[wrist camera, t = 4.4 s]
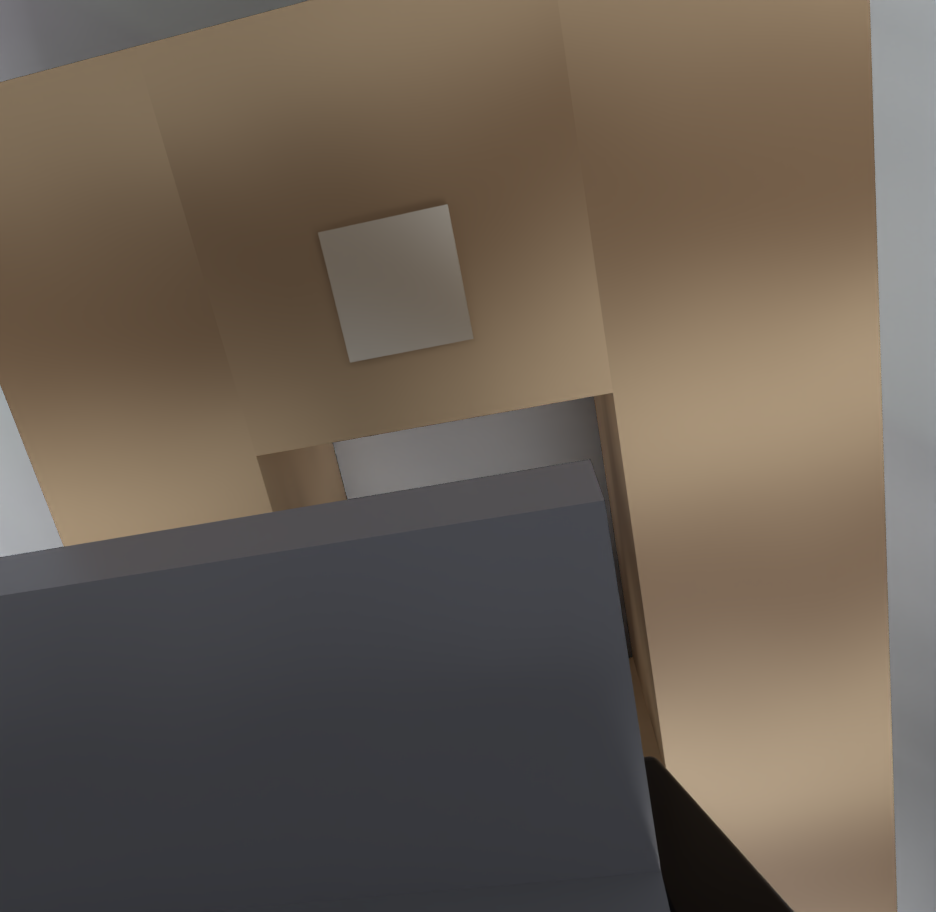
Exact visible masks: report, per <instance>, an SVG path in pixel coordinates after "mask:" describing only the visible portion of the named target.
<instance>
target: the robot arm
mask: <svg viewBox="0 0 936 912" xmlns="http://www.w3.org/2000/svg"><path fill="white" fill-rule="evenodd" d="M644 763H645V769H646V776H647V782H648V789H649V795H650V802H651V809H652V815H653V822H654V828H655V835H656V841H657V848H658V855H659V861H660V868H661V873H662V878H663V882H664V886H665V891H666V895H667V899H668V904H669V908H670V912H794V911H793V910H792V909H791V907H790V906H789V905H788V904H787V903H786V902H785V901H784V900H783V899H782V897H781V896H780V895H779V894H778V893H777V892H776V891H775V890H774V888H773V887H772V886H771V885H770V884H769V883H768V882H767V881H766V879H765V878H764V877H763V876H762V875H761V874H760V873H759V872H758V871H757V869H756V868H755V867H754V866H753V865H752V864H751V863H750V862H749V860H748V859H747V858H746V857H745V856H744V855H743V854H742V853H741V852H740V850H739V849H738V848H737V847H736V846H735V845H734V844H733V843H732V841H731V840H730V839H729V838H728V837H727V836H726V835H725V834H724V832H723V831H722V830H721V829H720V828H719V827H718V826H717V825H716V824H715V822H714V821H713V820H712V819H711V818H710V817H709V816H708V815H707V813H706V812H705V811H704V810H703V809H702V808H701V807H700V806H699V804H698V803H697V802H696V801H695V800H694V799H693V798H692V797H691V796H690V794H689V793H688V792H687V791H686V790H685V789H684V788H683V787H682V785H681V784H680V783H679V782H678V781H677V780H676V779H675V778H674V777H673V775H672V774H671V773H670V772H669V771H668V770H667V769H666V768H665V766H664V765H663V764H662V763H661V762H660V761H659V760H658V759H657V758H655V757H653V756H647V757H644Z"/></svg>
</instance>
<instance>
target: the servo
mask: <svg viewBox="0 0 936 912" xmlns="http://www.w3.org/2000/svg"><path fill="white" fill-rule="evenodd" d="M0 912H670V908H669V904H668V899H667V895H666V891H665V886H664V882H663V878H662V873H661V868H660V861H659V855H658V848H657V841H656V835H655V828H654V822H653V815H652V809H651V802H650V795H649V789H648V782H647V776H646V769H645V763H644V756H643V749H642V743H641V736H640V730H639V723H638V717H637V710H636V703H635V697H634V690H633V684H632V677H631V671H630V664H629V657H628V651H627V644H626V638H625V631H624V625H623V618H622V611H621V605H620V598H619V592H618V585H617V579H616V572H615V566H614V559H613V552H612V546H611V539H610V533H609V526H608V520H607V513H606V506H605V500H604V497H603V494H602V491H601V489H600V486H599V483H598V480H597V477H596V474H595V471H594V469H593V466H592V463H591V460H590V459H589V460H583V461H577V462H571V463H565V464H559V465H553V466H547V467H541V468H535V469H529V470H523V471H517V472H511V473H505V474H499V475H493V476H487V477H481V478H475V479H469V480H463V481H457V482H451V483H445V484H439V485H433V486H427V487H421V488H414V489H408V490H402V491H396V492H390V493H384V494H378V495H372V496H366V497H360V498H354V499H348V500H342V501H336V502H330V503H324V504H318V505H312V506H306V507H300V508H294V509H288V510H282V511H276V512H270V513H264V514H258V515H252V516H246V517H240V518H234V519H228V520H222V521H216V522H210V523H204V524H198V525H192V526H186V527H180V528H174V529H167V530H161V531H155V532H149V533H143V534H137V535H131V536H125V537H119V538H113V539H107V540H101V541H95V542H89V543H83V544H77V545H71V546H65V547H59V548H53V549H47V550H41V551H35V552H29V553H23V554H17V555H11V556H5V557H0Z"/></svg>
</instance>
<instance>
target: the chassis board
mask: <svg viewBox="0 0 936 912" xmlns="http://www.w3.org/2000/svg"><path fill="white" fill-rule="evenodd" d="M0 385H1V388H2V390H3V393H4V395H5V398H6V400H7V403H8V405H9V408H10V410H11V413H12V416H13V418H14V421H15V423H16V426H17V428H18V431H19V433H20V436H21V439H22V441H23V444H24V446H25V449H26V451H27V454H28V456H29V459H30V461H31V464H32V467H33V469H34V472H35V474H36V477H37V479H38V482H39V484H40V487H41V489H42V492H43V495H44V497H45V500H46V502H47V505H48V507H49V510H50V512H51V515H52V517H53V520H54V523H55V525H56V528H57V530H58V533H59V535H60V538H61V540H62V543H63V545H64V547H65V546H71V545H77V544H83V543H89V542H95V541H101V540H107V539H113V538H119V537H125V536H131V535H137V534H143V533H149V532H155V531H161V530H167V529H174V528H180V527H186V526H192V525H198V524H204V523H210V522H216V521H222V520H228V519H234V518H240V517H246V516H252V515H258V514H264V513H270V512H276V511H282V510H288V509H294V508H300V507H306V506H312V505H318V504H324V503H330V502H336V501H342V500H347V497H346V493H345V489H344V486H343V482H342V478H341V474H340V470H339V466H338V463H337V459H336V455H335V451H334V447H333V444H332V443H333V442H339V441H344V440H350V439H355V438H361V437H367V436H372V435H378V434H384V433H389V432H395V431H400V430H406V429H412V428H417V427H423V426H429V425H434V424H440V423H445V422H451V421H457V420H462V419H468V418H474V417H479V416H485V415H490V414H496V413H502V412H507V411H513V410H519V409H524V408H530V407H535V406H541V405H547V404H552V403H558V402H564V401H569V400H575V399H580V398H586V397H592V396H594V402H595V408H596V415H597V422H598V428H599V435H600V442H601V449H602V455H603V462H604V469H605V475H606V482H607V489H608V495H609V502H610V509H611V516H612V522H613V529H614V536H615V542H616V549H617V556H618V562H619V569H620V576H621V582H622V589H623V596H624V603H625V609H626V616H627V623H628V629H629V636H630V643H631V649H632V656H633V657H632V658H629V664H630V671H631V677H632V684H633V690H634V697H635V703H636V710H637V717H638V723H639V730H640V736H641V743H642V749H643V756H644V757H647V756H653V757H655V758H657V759H658V760H659V761H660V762H661V763H662V764H663V765H664V766H665V768H666V769H667V770H668V771H669V772H670V773H671V774H672V775H673V777H674V778H675V779H676V780H677V781H678V782H679V783H680V784H681V785H682V787H683V788H684V789H685V790H686V791H687V792H688V793H689V794H690V796H691V797H692V798H693V799H694V800H695V801H696V802H697V803H698V804H699V806H700V807H701V808H702V809H703V810H704V811H705V812H706V813H707V815H708V816H709V817H710V818H711V819H712V820H713V821H714V822H715V824H716V825H717V826H718V827H719V828H720V829H721V830H722V831H723V832H724V834H725V835H726V836H727V837H728V838H729V839H730V840H731V841H732V843H733V844H734V845H735V846H736V847H737V848H738V849H739V850H740V852H741V853H742V854H743V855H744V856H745V857H746V858H747V859H748V860H749V862H750V863H751V864H752V865H753V866H754V867H755V868H756V869H757V871H758V872H759V873H760V874H761V875H762V876H763V877H764V878H765V879H766V881H767V882H768V883H769V884H770V885H771V886H772V887H773V888H774V890H775V891H776V892H777V893H778V894H779V895H780V896H781V897H782V899H783V900H784V901H785V902H786V903H787V904H788V905H789V906H790V907H791V909H792V910H793V911H794V912H897V886H896V853H895V820H894V787H893V754H892V721H891V688H890V655H889V622H888V589H887V556H886V523H885V490H884V457H883V424H882V391H881V358H880V325H879V292H878V259H877V226H876V193H875V160H874V127H873V94H872V61H871V28H870V0H309V1H305V2H301V3H297V4H294V5H290V6H286V7H282V8H279V9H275V10H271V11H267V12H263V13H260V14H256V15H252V16H248V17H245V18H241V19H237V20H233V21H229V22H226V23H222V24H218V25H214V26H211V27H207V28H203V29H199V30H195V31H192V32H188V33H184V34H180V35H177V36H173V37H169V38H165V39H161V40H158V41H154V42H150V43H146V44H143V45H139V46H135V47H131V48H128V49H124V50H120V51H116V52H112V53H109V54H105V55H101V56H97V57H94V58H90V59H86V60H82V61H78V62H75V63H71V64H67V65H63V66H60V67H56V68H52V69H48V70H44V71H41V72H37V73H33V74H29V75H26V76H22V77H18V78H14V79H10V80H7V81H3V82H0Z"/></svg>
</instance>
